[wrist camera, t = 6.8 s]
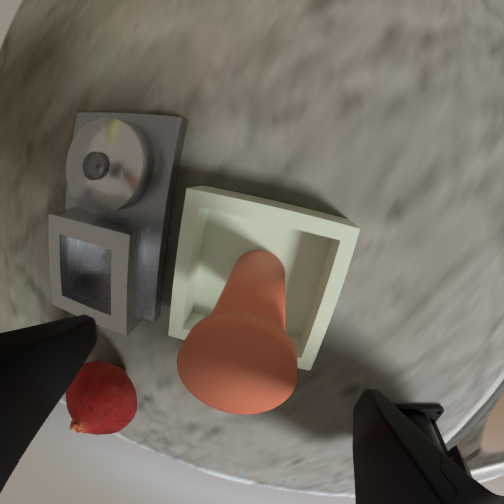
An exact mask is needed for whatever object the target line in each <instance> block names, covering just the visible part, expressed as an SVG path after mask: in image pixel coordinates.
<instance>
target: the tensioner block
mask: <svg viewBox="0 0 504 504" xmlns="http://www.w3.org/2000/svg"><path fill="white" fill-rule="evenodd" d="M187 123H188V120H187V119H185V118H183V117H175V116H164V115H152V114H135V113H107V112H80V113H77V118H76V123H75V128H74V134H73V140H72V143H71V146H70V148H69V151H68V155H67V160H66V180H67V187H66V200H65V209H64V210H60V211H57V212H53V213H49V219H48V246H49V270H50V284H51V294H52V303H53V305H55V306H57V307H59V308H61V309H63V310H65V311H68V312H70V313H72V314H74V315H76V316H79V315H84V314H85V315H88V316H90V317H93V318H94V319H95V321H96V324H97V325H99V326H102V327H104V328H107V329H109V330H112V331H114V332H117V333H119V334H122V335H124V336H127V335H128V334H129V333H130V332H131V331H132V330H133V329H134V328H135V327H136V326H137V325H138V323H139V322H140V321H141V320H142V319H145V320H148V321H151V322H155V321H156V320H157V319H158V317H159V316H160V307H161V295H162V284H163V273H164V264H165V255H166V246H167V238H168V231H169V223H170V216H171V210H172V203H173V197H174V190H175V184H176V179H177V173H178V167H179V162H180V157H181V152H182V147H183V142H184V137H185V132H186V127H187Z"/></svg>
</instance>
